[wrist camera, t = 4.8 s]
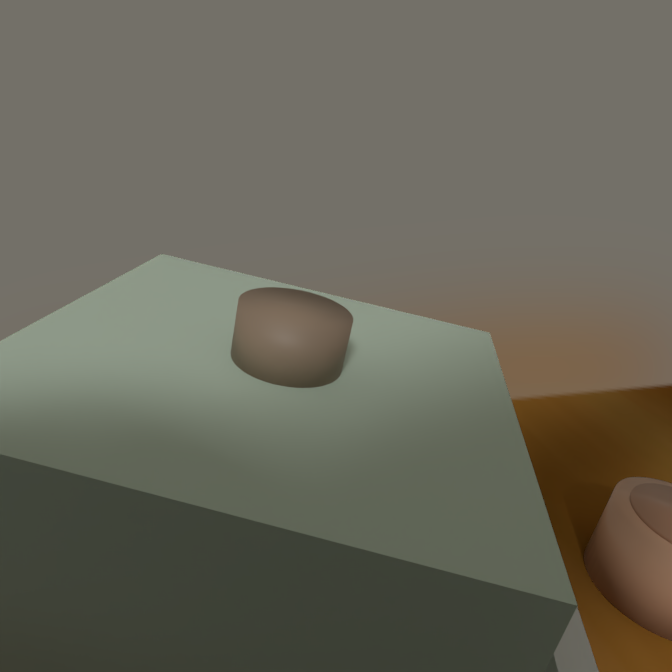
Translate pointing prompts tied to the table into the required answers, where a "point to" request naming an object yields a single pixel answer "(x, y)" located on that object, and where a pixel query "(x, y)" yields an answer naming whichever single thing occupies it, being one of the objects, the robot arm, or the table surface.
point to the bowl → (636, 553)
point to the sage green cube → (265, 488)
